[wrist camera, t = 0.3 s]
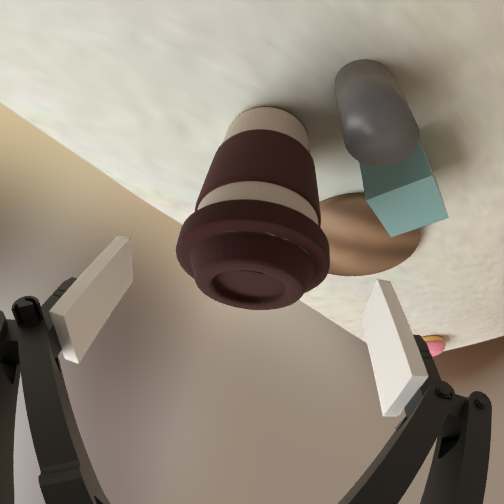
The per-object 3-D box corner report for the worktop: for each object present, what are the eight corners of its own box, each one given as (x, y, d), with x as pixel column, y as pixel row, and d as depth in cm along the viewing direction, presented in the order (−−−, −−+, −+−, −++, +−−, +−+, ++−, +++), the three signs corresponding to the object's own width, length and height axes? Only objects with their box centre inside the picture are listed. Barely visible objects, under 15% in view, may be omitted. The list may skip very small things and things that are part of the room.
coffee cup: (269, 190, 34) (254, 327, 26) (192, 137, 29) (144, 281, 21) (345, 142, 27) (361, 296, 19) (265, 69, 22) (238, 219, 14)
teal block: (357, 153, 28) (365, 200, 25) (414, 129, 24) (432, 175, 21) (382, 190, 32) (391, 237, 28) (432, 171, 28) (448, 217, 25)
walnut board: (303, 183, 32) (303, 192, 32) (439, 205, 32) (441, 213, 31) (286, 262, 46) (285, 270, 45) (390, 273, 45) (391, 280, 45)
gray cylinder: (340, 54, 20) (353, 97, 16) (401, 67, 20) (429, 115, 16) (329, 106, 24) (336, 160, 20) (385, 116, 24) (404, 171, 20)
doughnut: (445, 330, 65) (447, 347, 63) (443, 342, 73) (445, 357, 71) (404, 337, 70) (404, 353, 68) (406, 348, 78) (407, 362, 76)
